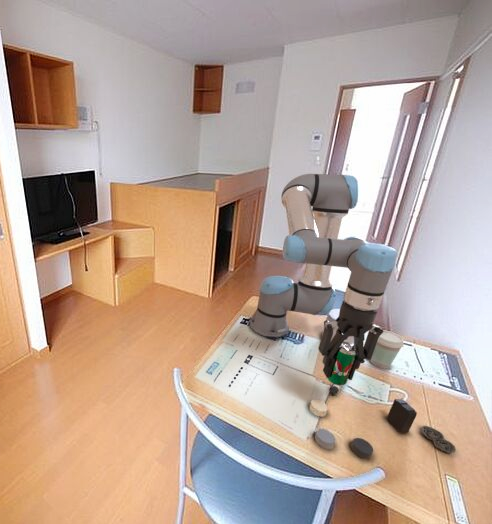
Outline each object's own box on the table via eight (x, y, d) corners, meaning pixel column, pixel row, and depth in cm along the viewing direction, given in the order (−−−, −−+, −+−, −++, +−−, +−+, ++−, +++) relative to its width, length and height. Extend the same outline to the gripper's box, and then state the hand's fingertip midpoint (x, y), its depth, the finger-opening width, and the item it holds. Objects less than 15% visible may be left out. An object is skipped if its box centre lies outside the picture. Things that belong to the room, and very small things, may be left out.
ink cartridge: (408, 433, 85) (418, 412, 82) (400, 434, 85) (410, 412, 81) (393, 418, 89) (402, 398, 86) (386, 418, 89) (395, 398, 86)
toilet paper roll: (357, 339, 124) (365, 315, 120) (353, 354, 116) (361, 328, 111) (324, 328, 131) (331, 305, 127) (318, 341, 123) (325, 317, 119)
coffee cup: (384, 356, 115) (394, 329, 110) (399, 372, 107) (411, 344, 102) (360, 354, 116) (369, 328, 111) (374, 370, 108) (384, 342, 103)
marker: (342, 372, 107) (343, 368, 106) (348, 375, 105) (350, 371, 105) (326, 395, 97) (328, 391, 96) (333, 399, 96) (335, 394, 95)
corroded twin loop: (442, 455, 79) (443, 452, 78) (414, 428, 86) (416, 425, 86) (460, 454, 79) (462, 452, 78) (431, 427, 86) (433, 425, 86)
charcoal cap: (347, 449, 80) (350, 443, 79) (354, 440, 83) (357, 434, 82) (366, 462, 77) (369, 456, 76) (373, 453, 79) (376, 447, 79)
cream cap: (306, 409, 92) (308, 403, 91) (313, 402, 95) (315, 397, 94) (321, 419, 89) (323, 413, 88) (328, 412, 91) (330, 406, 90)
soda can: (343, 375, 88) (354, 342, 83) (348, 388, 84) (360, 353, 79) (323, 371, 89) (334, 338, 85) (327, 384, 85) (338, 349, 80)
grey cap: (311, 439, 83) (313, 434, 82) (319, 431, 85) (321, 425, 84) (328, 452, 79) (330, 446, 79) (336, 443, 82) (338, 437, 81)
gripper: (328, 309, 75) (307, 381, 84) (409, 315, 72) (379, 389, 81) (316, 294, 81) (298, 362, 91) (390, 299, 79) (364, 369, 88)
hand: (337, 375), depth 86 cm, fingers closed on soda can, 5 cm apart
